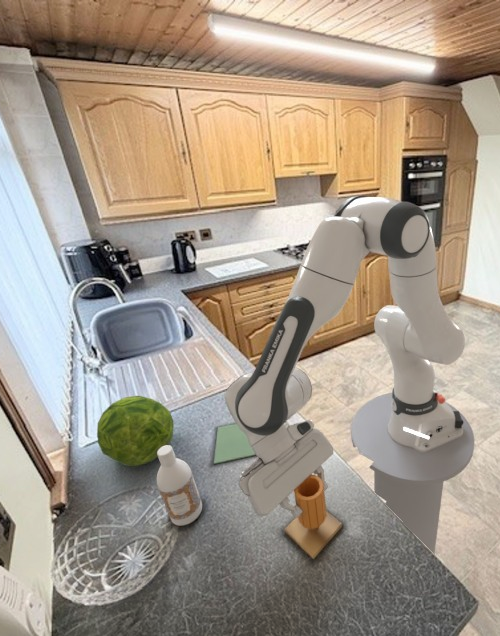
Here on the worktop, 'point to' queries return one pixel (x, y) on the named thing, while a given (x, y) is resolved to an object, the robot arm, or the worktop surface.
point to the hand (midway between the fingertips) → (312, 501)
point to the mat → (231, 444)
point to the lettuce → (134, 430)
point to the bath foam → (177, 488)
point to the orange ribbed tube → (311, 502)
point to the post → (313, 534)
